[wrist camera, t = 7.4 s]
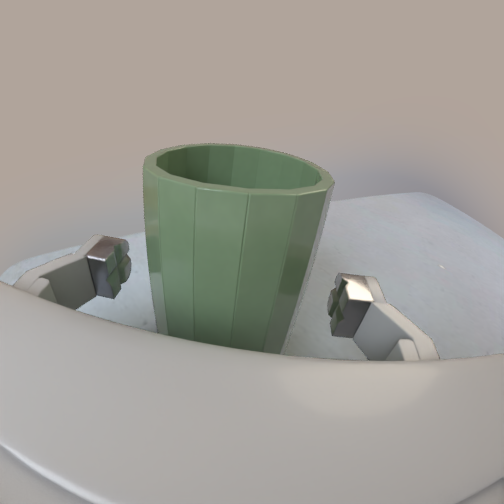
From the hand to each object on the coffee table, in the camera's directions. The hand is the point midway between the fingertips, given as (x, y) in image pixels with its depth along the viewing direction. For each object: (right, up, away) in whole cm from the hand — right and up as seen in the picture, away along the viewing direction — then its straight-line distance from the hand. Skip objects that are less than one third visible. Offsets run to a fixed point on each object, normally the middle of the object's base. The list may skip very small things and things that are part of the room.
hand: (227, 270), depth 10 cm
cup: (-1, -4, +3) cm, 5 cm away
